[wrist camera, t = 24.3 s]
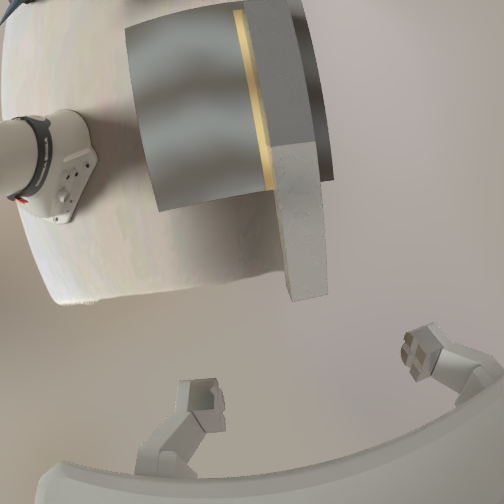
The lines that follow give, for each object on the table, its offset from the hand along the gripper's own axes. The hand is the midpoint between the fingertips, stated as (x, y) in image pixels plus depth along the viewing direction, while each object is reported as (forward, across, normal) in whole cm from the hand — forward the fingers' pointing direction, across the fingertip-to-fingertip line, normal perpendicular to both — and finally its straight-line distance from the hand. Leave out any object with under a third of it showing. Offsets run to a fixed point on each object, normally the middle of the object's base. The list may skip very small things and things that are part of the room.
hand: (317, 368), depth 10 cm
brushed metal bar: (+13, +2, +7) cm, 15 cm away
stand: (+40, -1, +12) cm, 41 cm away
